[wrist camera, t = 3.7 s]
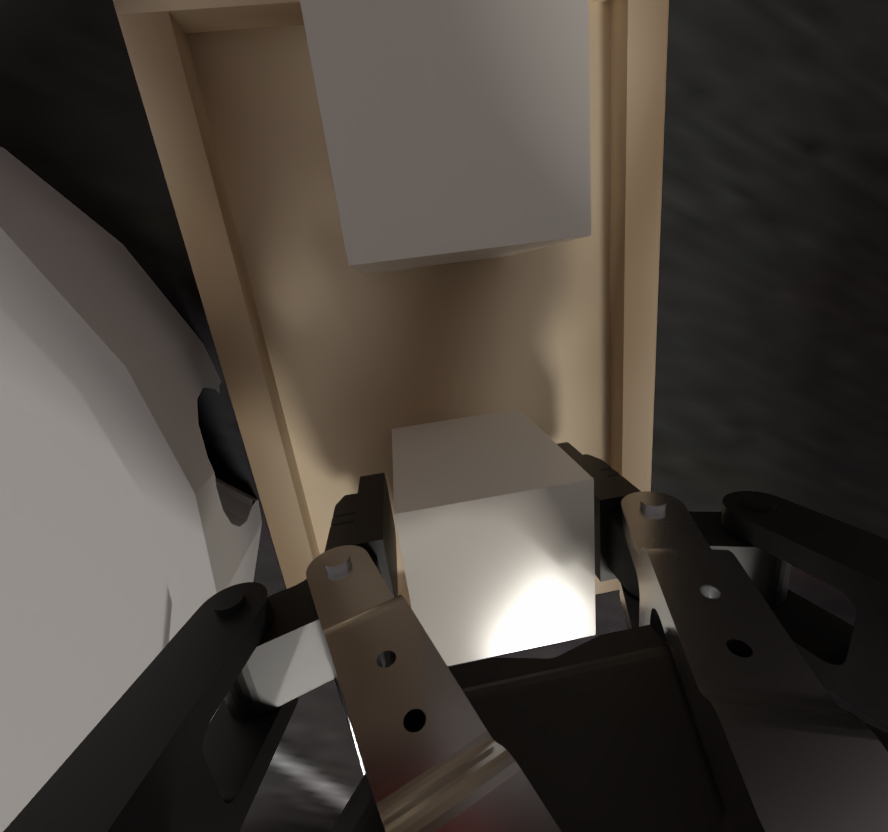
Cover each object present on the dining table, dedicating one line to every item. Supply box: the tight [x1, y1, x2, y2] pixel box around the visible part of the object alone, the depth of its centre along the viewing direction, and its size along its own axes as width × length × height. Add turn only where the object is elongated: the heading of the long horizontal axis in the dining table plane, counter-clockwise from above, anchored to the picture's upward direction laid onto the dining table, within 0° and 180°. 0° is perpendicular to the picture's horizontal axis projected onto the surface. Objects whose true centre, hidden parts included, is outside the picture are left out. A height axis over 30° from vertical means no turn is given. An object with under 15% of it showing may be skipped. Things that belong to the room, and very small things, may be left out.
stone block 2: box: [392, 409, 595, 666], centre depth 11 cm, size 4×4×5 cm
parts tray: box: [113, 0, 669, 609], centre depth 12 cm, size 12×18×1 cm, turn 7°
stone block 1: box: [300, 0, 591, 274], centre depth 8 cm, size 4×4×5 cm
